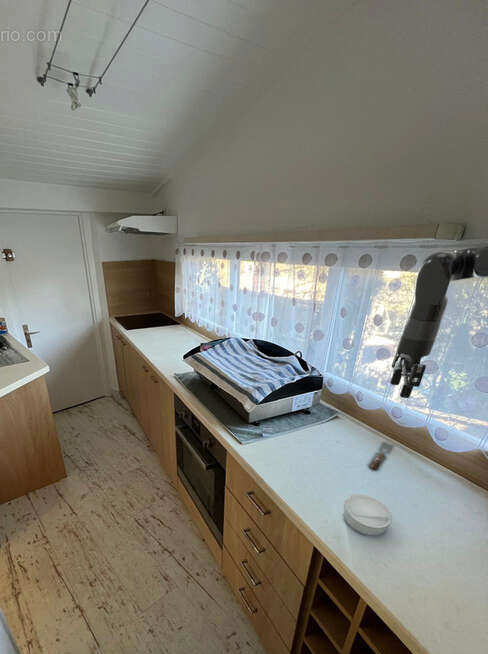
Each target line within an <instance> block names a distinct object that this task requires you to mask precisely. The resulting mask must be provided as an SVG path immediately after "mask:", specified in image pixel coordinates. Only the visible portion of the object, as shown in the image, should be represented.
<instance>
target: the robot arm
mask: <svg viewBox="0 0 488 654" xmlns="http://www.w3.org/2000/svg"><path fill="white" fill-rule="evenodd" d="M474 278H480V279H481V278H482V279H483V278H488V243H486V244H483V245H481V246H480V245H479V246H474V247H468V248H462V249H454V250H446V251H445V250H444V251H437V252H434V253H432V254H430V255H428V256H427V257H426V258H425V259H424V260H423V261H422V263H421V265H420V266H419V269H418V271H417V275H416V278H415V286H414V298H413V302H412V303H411V307H410V310H409V313H408V317H407V319H406V321H405V323H404V325H403V328H402V330H401V333H400V337H399V340H398V343H397V346H396V351H395V355H394V358H393V361H392V364H391V368H392V372H393V373H392V376H391V379H390V382H389V384H390V385H392V386H400V383H401V380H402V378H403V385H402V387H401V391H400V393H399V397H400V398H403V399H409V398H411V394H412V392H413V389H414V387H416V388H419V387H420V385H421V382H422V380H423V377H424V374H425V371H426V368H427V365H426V364H421V363H422V362H421V361H422V358H424V357H428V356H429V355H431V352H432V349H433V347H434V344H435V342H436V339H437V337H438V333H439V331H440V327H441V324H442V320H443V317H444V315H445V312H446V310H447V306H448V302H449V298H448V296H447V292H448V289H449V286H450V284H451V283H450V282H455V281H461V280H468V279H474Z"/></svg>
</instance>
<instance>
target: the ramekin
mask: <svg viewBox="0 0 488 654" xmlns="http://www.w3.org/2000/svg"><path fill="white" fill-rule="evenodd" d="M343 517H344V519H345V521H346V522H347V523H346V524H348V525H349V526H350V527H351V528H352V529H354V530H355V531H357V532H359V533H361V534H364V535H367V536H379V535H382V534H383V533H385V531H386V530H387V529H388V528H389V527H390V526H391V523H392V521H393V517H392V513H391V512H390V510H389V508H388V507H387V506H386V505H385V504H384V503H382V502H381V501H380V500H378V499H377V498H375V497H373V496H370V495H367V494H361V493H354V494H350V495H349V496H347V497H346V498H345V500H344V503H343Z"/></svg>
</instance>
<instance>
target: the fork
mask: <svg viewBox="0 0 488 654" xmlns="http://www.w3.org/2000/svg"><path fill="white" fill-rule="evenodd" d="M385 458H386V454H384V453H383V452H378V453H377V454H376V456H375V457H374V459H373V460H372V461H371V462H370V464H369V465H368V467H369V469H370V470H373V471H377V470H378V469H379V467H380V466H381V464H382V463H383V461H384V460H385Z"/></svg>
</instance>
